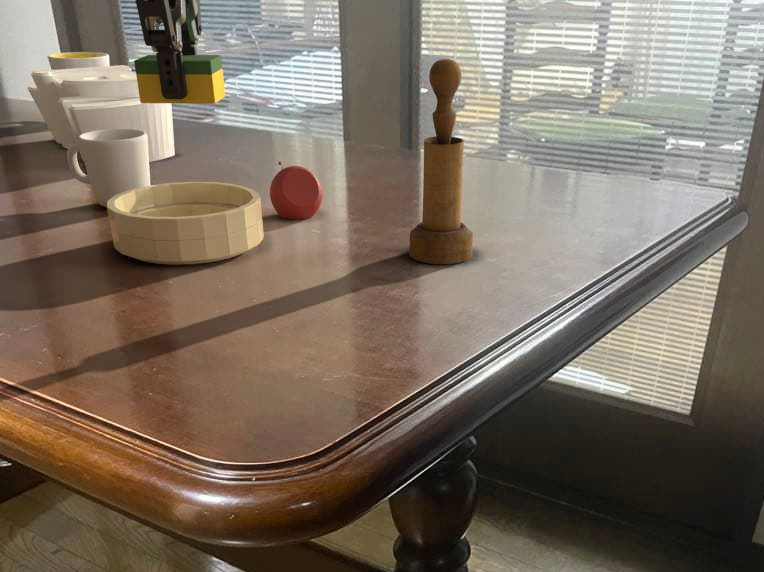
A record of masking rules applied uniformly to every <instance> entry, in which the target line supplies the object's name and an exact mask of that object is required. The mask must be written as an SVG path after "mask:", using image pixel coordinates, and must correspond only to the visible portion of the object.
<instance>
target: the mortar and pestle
mask: <svg viewBox="0 0 764 572" xmlns="http://www.w3.org/2000/svg"><path fill="white" fill-rule="evenodd" d="M428 79H429V84H430V87H431V89H432V91H433V93H434V95H435V98H436V108H435V110H434V111H433V112H432V115H431V116H432V122H433V127H434V128H433V129H434V132H435V135H433V136H429V137H427V138H424V139H423V184H422V186H423V188H422V189H423V190H422V217H421V218H422V220H421V222H419V223H418V224H417V225H416V226H415V227H414V228H413V229H411V230H410V232H409V256H410V258H412V259H413V260H415V261H418V262H420V263H425V264H431V265H452V264H460V263H463V262H466V261H468V260H470V259H471V258H472V256H473V248H474V247H473V246H474V234H473V231H472V230H471V229H469V228H468V227H467V225H466V224H465V223H464V222H461V220H462V218H461V217H462V195H463V172H464V171H463V170H464V147H465V141H464V139H463V138H460V137H456V136H452V135H453V132H454V127H455V124H456V121H457V112H455V111H454V109H453V100H454V97H455V95H456V93H457V91H458V89H459V87H460V85H461V82H462V70H461V68H460V65H459V63H458V62H457V61H456V60H454V59H451V58H441V59H438V60H436V61H435V62H433V64H431V67H430V69H429V75H428Z"/></svg>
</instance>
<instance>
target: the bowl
mask: <svg viewBox="0 0 764 572" xmlns="http://www.w3.org/2000/svg"><path fill="white" fill-rule="evenodd" d="M106 210H107V215H108V221H109V226H110V231H111V237H112V243H113V248H114V249H115V250H116V251H118V253H120V254H121V255H124V256H127V257H130V258H133V259H135V260H138V261H142V262H146V263H150V264H159V265H173V266H174V265H175V266H177V265H178V266H179V265H181V266H182V265H199V264H207V263H208V264H209V263H214V262H219V261H224V260H227V259H228V260H229V259H231V258H234V257H238V256H239V255H242V254H244V253H246V252H248V251H250V250H251V249H253V248H255V247H257V246H259V245H260V244H261V242H262V241H263V240H264V238H265V237H264V236H265V233H264V224H263V211H262V201H261V196H260V194H259V192H258V191H257V190H255V189H252V188H250V187H248V186H243V185H239V184H236V183H235V184H234V183H229V182H217V181H180V182H166V183H159V184H150V186H145V187H140V188H136V189H131V190H128V191H125V192H123V193H120V194H117V195H115V196H113V197H112V198H111V199H109V200H108V201H107V207H106Z"/></svg>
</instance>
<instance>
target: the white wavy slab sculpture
mask: <svg viewBox="0 0 764 572" xmlns="http://www.w3.org/2000/svg"><path fill="white" fill-rule="evenodd" d="M30 75H31V78H32V80H33V83H32V84H29V85H28V87H26V89H27V90H28V92H29V94H30V96H31V98H32V99H33V101H34V103H35V105H36V107H37V109H38V110H39V112H40V115H41V116H42V118H43V120H44V122H45V124H46V125H47V127H48V129H49V131H50V133H51V134H52V136H53V139H54V140H55V142H56V143H57V144H61V146H62V147H63V148H64V149H67V150H68V148H69V147H70V146H71V145H72V144H74V143H77V142H78V137H79V136H80V135H81V134H84V133H87V132H91V131H97V130H107V129H133V130H140V131H143V132H145V133H146V134H147V138H148V154H149V163H152V162H156V161H157V162H158V161H161V160H165V159H168V158H172V157H174V156H175V154H176V153H175V151H176V150H175V137H174V122H173V106H172V105H173V103H141V102H140V96H139V90H138V83H137V77H136V71H132V68H131V67H130V66H129V65H124V64H123V65H122V64H120V65H110V66H103V67H88V68H73V69H59V70H51V69H47V70H33V71H31V73H30ZM78 152H79V156H80V157H81V160H82V162H84V159H83V156H82V153H81V152H80V151H78Z"/></svg>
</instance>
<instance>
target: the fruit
mask: <svg viewBox="0 0 764 572" xmlns="http://www.w3.org/2000/svg"><path fill="white" fill-rule="evenodd" d="M282 164H283V162H282V161H278V165H279V166H281V170H279V171H278V172H277V173H276V174H275V175H274V177H273V179H272V181H271V184H270V187H269V197H270V202H271V204H272V207H273V209H274V210H275V212H276V213H277V214H278V215H279V216H280V217H281V218H284V219H287V220H306V219H307V220H308V219H310V218H312V217H315V215H316V214H317V213H318V211H319V209H320V207H321V205H322V201H323V189H322V185H321V182H320V181H319V179H318V177H317V176H316V175H315V173H313V172H312V171H311V170H310V169H308V168H306V167H304V166H299V165H290V166H287V167H284V168H283V165H282Z"/></svg>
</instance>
